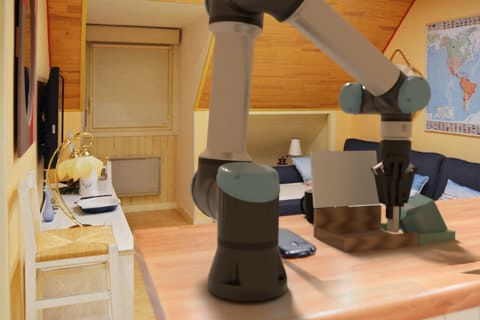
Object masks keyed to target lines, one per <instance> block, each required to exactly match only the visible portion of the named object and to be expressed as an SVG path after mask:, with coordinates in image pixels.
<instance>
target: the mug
mask: <svg viewBox="0 0 480 320" xmlns="http://www.w3.org/2000/svg"><path fill="white" fill-rule="evenodd" d="M299 208H300V211H301V213H302V214H303V215H304V216H305V219H306V221H307V222H309V223H311V224H314V209H320V208H314V207H313V192H312V188H309V189H305V190H304V194H303V196H302V197H301V199H300V200H299ZM324 208H336V207H324Z"/></svg>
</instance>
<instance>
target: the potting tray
mask: <svg viewBox="0 0 480 320" xmlns="http://www.w3.org/2000/svg"><path fill="white" fill-rule="evenodd" d="M398 229H401V227H400V225H399V227H398ZM447 229H448V228H447ZM381 230H384V231H385V230H386V231H387V222H381ZM454 239H455V240H456V230H452V229H448V230H445V231H443V232H428V233H418V245H417V246H421V245H428V244H436V243H442V242H443V243H444V242H450V241H455V240H454ZM449 240H450V241H449Z"/></svg>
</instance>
